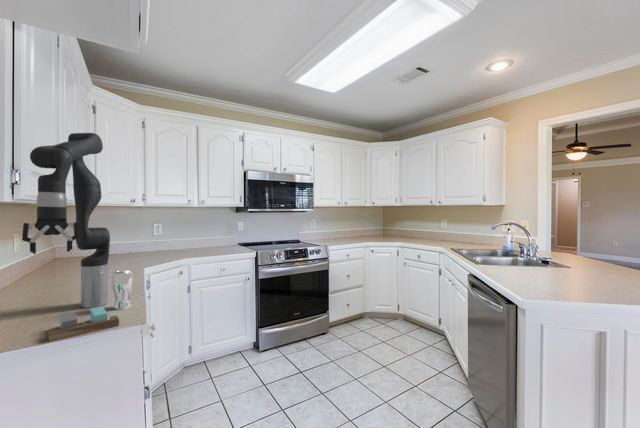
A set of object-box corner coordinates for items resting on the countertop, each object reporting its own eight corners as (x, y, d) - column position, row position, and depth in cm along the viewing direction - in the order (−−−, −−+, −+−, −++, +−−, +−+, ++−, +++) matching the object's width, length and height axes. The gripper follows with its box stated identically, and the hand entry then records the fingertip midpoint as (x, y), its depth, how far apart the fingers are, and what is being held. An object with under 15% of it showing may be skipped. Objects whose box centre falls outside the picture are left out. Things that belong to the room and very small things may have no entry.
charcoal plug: (59, 327, 99) (59, 312, 99) (73, 324, 102) (73, 310, 102) (62, 337, 91) (62, 322, 91) (76, 334, 94) (77, 319, 94)
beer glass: (129, 303, 125) (129, 269, 125) (134, 307, 120) (135, 271, 120) (110, 307, 119) (110, 271, 119) (115, 311, 115) (115, 274, 115)
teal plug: (89, 320, 105) (89, 307, 105) (101, 318, 108) (101, 305, 108) (94, 330, 97) (94, 315, 97) (107, 327, 100) (107, 313, 100)
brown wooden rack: (48, 336, 91) (48, 329, 91) (116, 321, 104) (116, 315, 104) (48, 341, 88) (48, 333, 88) (118, 325, 101) (118, 318, 101)
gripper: (21, 205, 91) (21, 255, 91) (80, 206, 101) (79, 251, 101) (22, 205, 96) (22, 253, 96) (77, 206, 106) (77, 249, 106)
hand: (51, 252), depth 98 cm, fingers open, 8 cm apart
